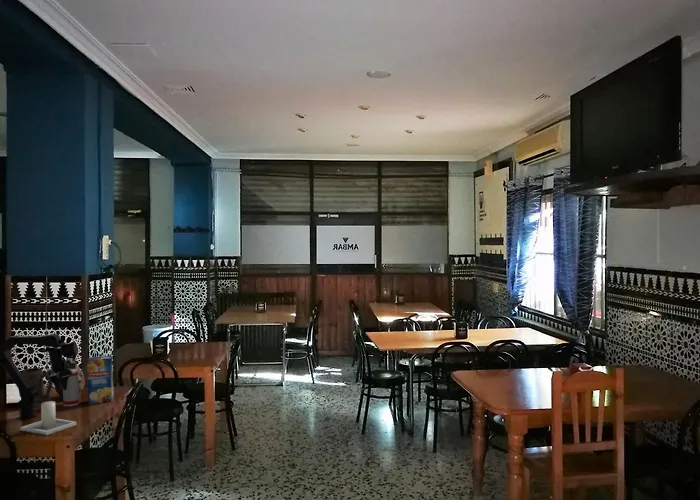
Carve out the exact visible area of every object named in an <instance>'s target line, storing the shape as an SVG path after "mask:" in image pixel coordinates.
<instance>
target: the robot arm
mask: <svg viewBox="0 0 700 500" xmlns="http://www.w3.org/2000/svg"><path fill="white" fill-rule="evenodd" d="M60 336H61V335H59V334H57V333H50V334H45V335H39V336H36V335H35V336H34V335H32V336H31V335H29V336H26V335H25V336H22V335H21V336H20V335H13V336H10V337H9V338H8V339H6V340H5V341H4V342H3V343H2V344H0V365H1V366H3V368H4V369H5V371H6V372H7V374H8V375H9V377H10V378H11V381H12V382H13V383H14V385H15V386H16V387H17V390H18V393H19V397H20V399H19V400H18V402H17V403H16V408H17V409H19V410H18V414H19V416H17V417H16V419H18V420H22V421H25V420H28V419H31V418H36V417H37V415H35V414H34V412H35V411H34V408H33V403H34V402H35V400H36V399H37V398H38V395H39V394H38V392H37V391H39V390H37V389H36V387H35V385H34V384H33V385H32V386H31V385H29V384H28V383H27V382H26V380H25V379H24V377H23V376H22V372H21V371H20V370H19V368H18V367H17V365H16V363H14V361H13V358H12V354H11V350H13V348H14V347H15V346H16V345H40V346H43V347H45V349H44V350H43V353H47V352H48V358H49V362H48V365H50V367H51V369H48V370H46V372H45V373H46V375H47V376H49V377H48V378H49V379H50V380H51V381H52V385H53V386H54V387H55V386H56V388H57V389H59V388H60V384H61V386H62V387H63V389H64V390H66V389H67V382H68V378H69V377H70V376H71V374H72V370H70V369H75V367H76V364H77V362H75V363H71V362H70V361H68V360H67V359H64V358H67V357H69V356H75V355H76V356H78V355H79V348H78V345H77V344H76V342H75V341H73V342H72V341H71V342H68V343H66V342H65V341H64V340H62V339H61V337H60ZM76 345H77V346H76ZM63 357H64V358H63ZM67 368H69V369H67Z"/></svg>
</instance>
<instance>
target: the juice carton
mask: <svg viewBox="0 0 700 500" xmlns="http://www.w3.org/2000/svg"><path fill="white" fill-rule="evenodd" d="M86 361H87V362H86V363H87V365H86V367H87V369H86V371H87V372H86V373H87V397H88V398H87V400H88V403H87V404H89V405H91V404H104V403H103V402H105V403H112V402H113V400H114V375H113V373H114V372H113V371H114V370H113V355H103V356H89V357H88V358H87V359H86Z"/></svg>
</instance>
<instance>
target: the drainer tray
mask: <svg viewBox="0 0 700 500" xmlns="http://www.w3.org/2000/svg"><path fill="white" fill-rule="evenodd" d="M74 426H77V421H76V420H75V421H73V420H67V419H61V418H56V426H54V427H52V428H42V424H41V420H39V421H36V422H32V423H30V424H27V425H22V426H20V428H19V429H20V430H19V431H22V432H25V431H26V433H32V434H36V435H42V436H48V435H52V434H55V433H57V432H60V431H63V430H66V429H70V428H73V427H74Z"/></svg>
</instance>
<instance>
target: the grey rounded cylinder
mask: <svg viewBox="0 0 700 500" xmlns="http://www.w3.org/2000/svg"><path fill="white" fill-rule="evenodd" d="M56 409H57V408H56V401H55V400H54V401H53V400H49V401H44V402H43V403H41V406H40V413H41V417H40V418H41V420H40V421H41V424H42V428H52V427H54V426H56V419H57V418H56V411H57V410H56Z"/></svg>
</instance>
